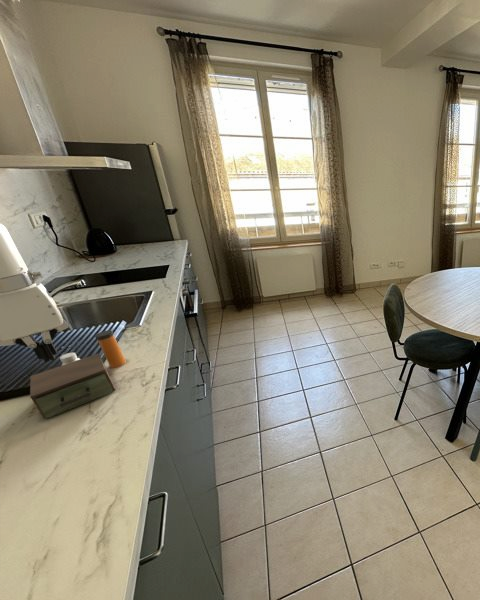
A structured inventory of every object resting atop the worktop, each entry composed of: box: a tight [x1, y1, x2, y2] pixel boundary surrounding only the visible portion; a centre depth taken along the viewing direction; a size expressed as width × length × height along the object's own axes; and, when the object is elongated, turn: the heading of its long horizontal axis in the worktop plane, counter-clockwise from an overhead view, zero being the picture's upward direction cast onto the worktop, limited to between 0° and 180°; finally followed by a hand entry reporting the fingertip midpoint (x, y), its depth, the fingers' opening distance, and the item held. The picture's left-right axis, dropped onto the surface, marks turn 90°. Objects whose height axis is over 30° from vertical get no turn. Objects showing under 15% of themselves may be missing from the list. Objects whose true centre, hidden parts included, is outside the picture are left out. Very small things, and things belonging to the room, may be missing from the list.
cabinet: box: [29, 353, 116, 419], centre depth 91 cm, size 14×15×8 cm
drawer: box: [35, 374, 114, 419], centre depth 89 cm, size 17×13×6 cm
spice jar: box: [94, 329, 127, 369], centre depth 104 cm, size 4×4×12 cm
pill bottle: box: [59, 352, 81, 366], centre depth 100 cm, size 4×4×8 cm
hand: (50, 358), depth 74 cm, fingers closed
